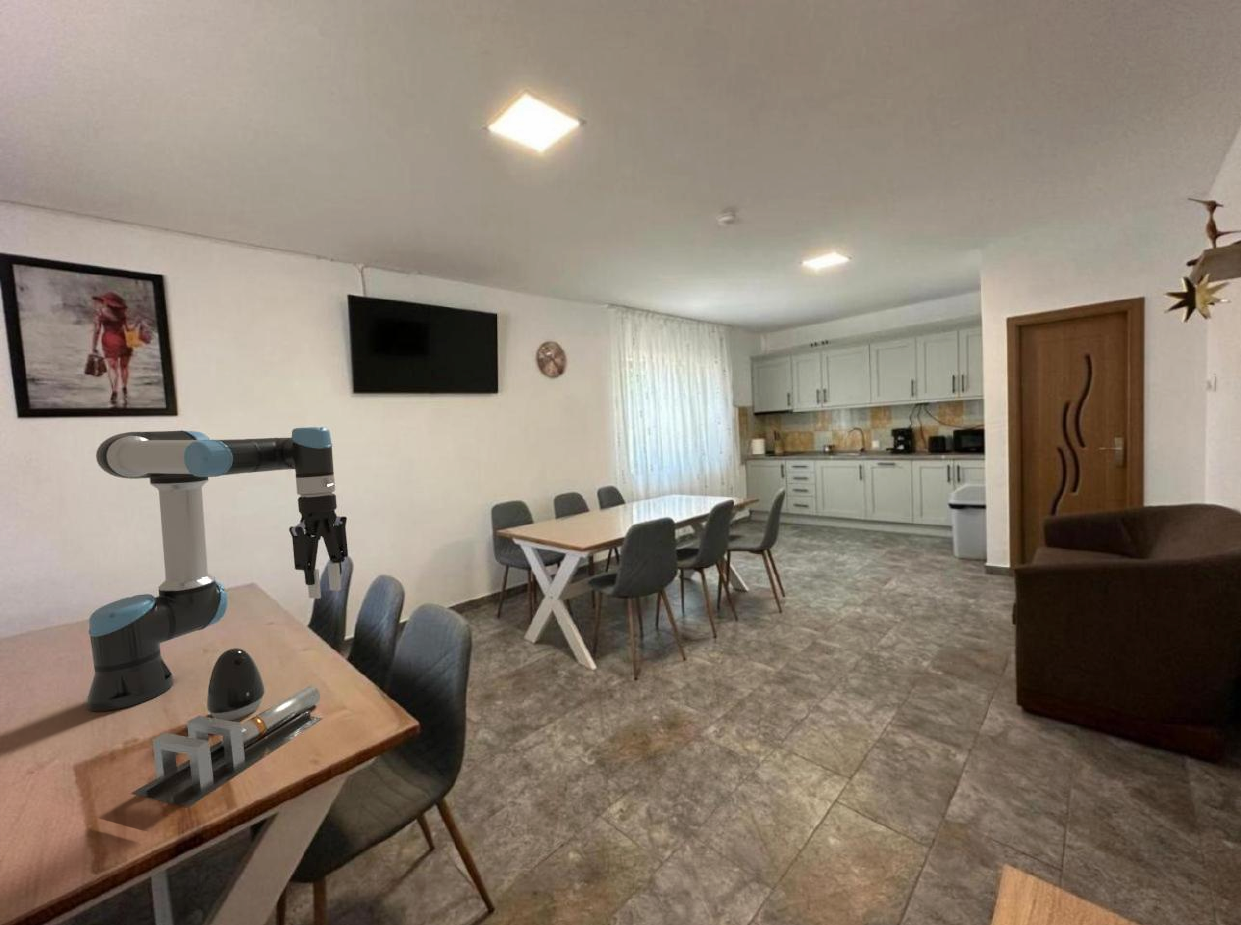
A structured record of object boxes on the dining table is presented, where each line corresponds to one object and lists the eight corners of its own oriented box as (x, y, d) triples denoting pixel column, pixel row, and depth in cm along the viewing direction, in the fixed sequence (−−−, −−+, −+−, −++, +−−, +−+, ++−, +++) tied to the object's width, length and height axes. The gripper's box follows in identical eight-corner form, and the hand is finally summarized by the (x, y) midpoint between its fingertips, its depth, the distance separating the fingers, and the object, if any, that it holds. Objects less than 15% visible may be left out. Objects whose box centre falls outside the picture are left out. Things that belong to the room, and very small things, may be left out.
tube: (240, 755, 95) (236, 733, 95) (223, 754, 97) (220, 731, 97) (321, 704, 113) (318, 685, 112) (306, 704, 114) (303, 685, 114)
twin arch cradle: (131, 798, 87) (125, 748, 86) (274, 714, 112) (270, 675, 111) (188, 812, 83) (182, 760, 82) (323, 722, 107) (319, 682, 107)
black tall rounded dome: (221, 734, 105) (213, 663, 104) (200, 721, 110) (193, 654, 109) (275, 710, 114) (268, 644, 113) (254, 698, 119) (247, 636, 118)
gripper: (293, 500, 106) (303, 608, 107) (360, 489, 123) (368, 582, 124) (267, 500, 108) (277, 606, 109) (336, 489, 125) (344, 581, 127)
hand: (325, 593), depth 117 cm, fingers open, 5 cm apart
